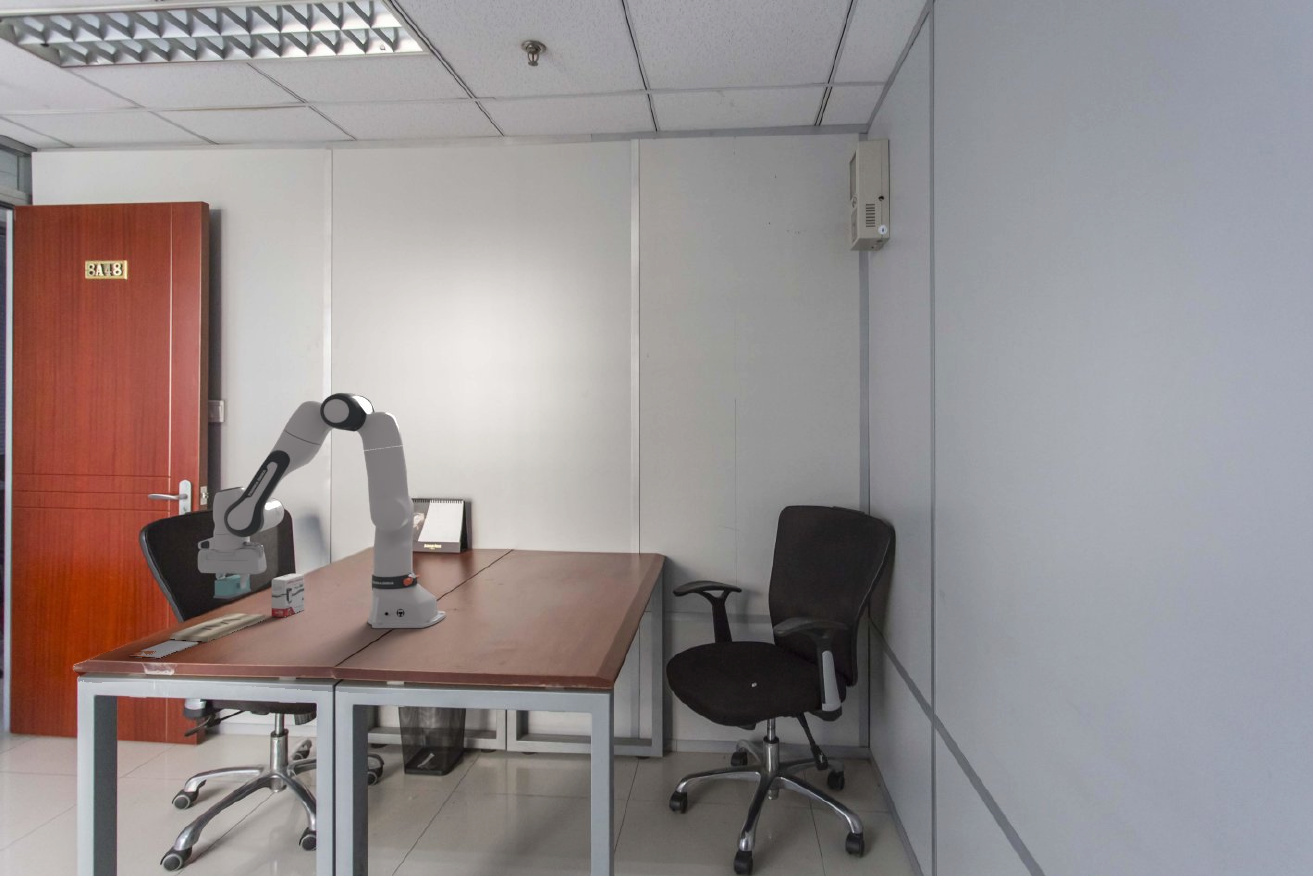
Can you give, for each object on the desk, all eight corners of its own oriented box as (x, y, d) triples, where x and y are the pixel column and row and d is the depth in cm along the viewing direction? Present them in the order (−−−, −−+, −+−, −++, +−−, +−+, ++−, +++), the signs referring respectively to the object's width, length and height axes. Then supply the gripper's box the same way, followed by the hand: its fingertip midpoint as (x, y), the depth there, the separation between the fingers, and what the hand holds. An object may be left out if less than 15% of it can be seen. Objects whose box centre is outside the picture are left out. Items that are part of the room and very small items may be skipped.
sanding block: (251, 591, 184) (250, 574, 184) (228, 598, 177) (228, 581, 176) (236, 590, 185) (236, 574, 185) (213, 597, 177) (213, 580, 177)
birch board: (265, 619, 186) (265, 614, 186) (207, 642, 166) (207, 636, 166) (230, 617, 188) (230, 612, 188) (169, 639, 168) (169, 634, 168)
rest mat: (198, 643, 165) (198, 642, 165) (159, 658, 154) (159, 657, 154) (169, 641, 166) (169, 640, 166) (128, 656, 156) (128, 655, 156)
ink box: (284, 618, 188) (284, 580, 188) (270, 617, 189) (270, 579, 189) (305, 610, 196) (305, 573, 196) (292, 609, 197) (292, 573, 197)
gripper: (271, 540, 182) (272, 586, 183) (211, 539, 185) (212, 584, 186) (254, 544, 176) (255, 591, 176) (192, 543, 179) (194, 589, 179)
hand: (233, 588), depth 181 cm, fingers closed on sanding block, 4 cm apart
